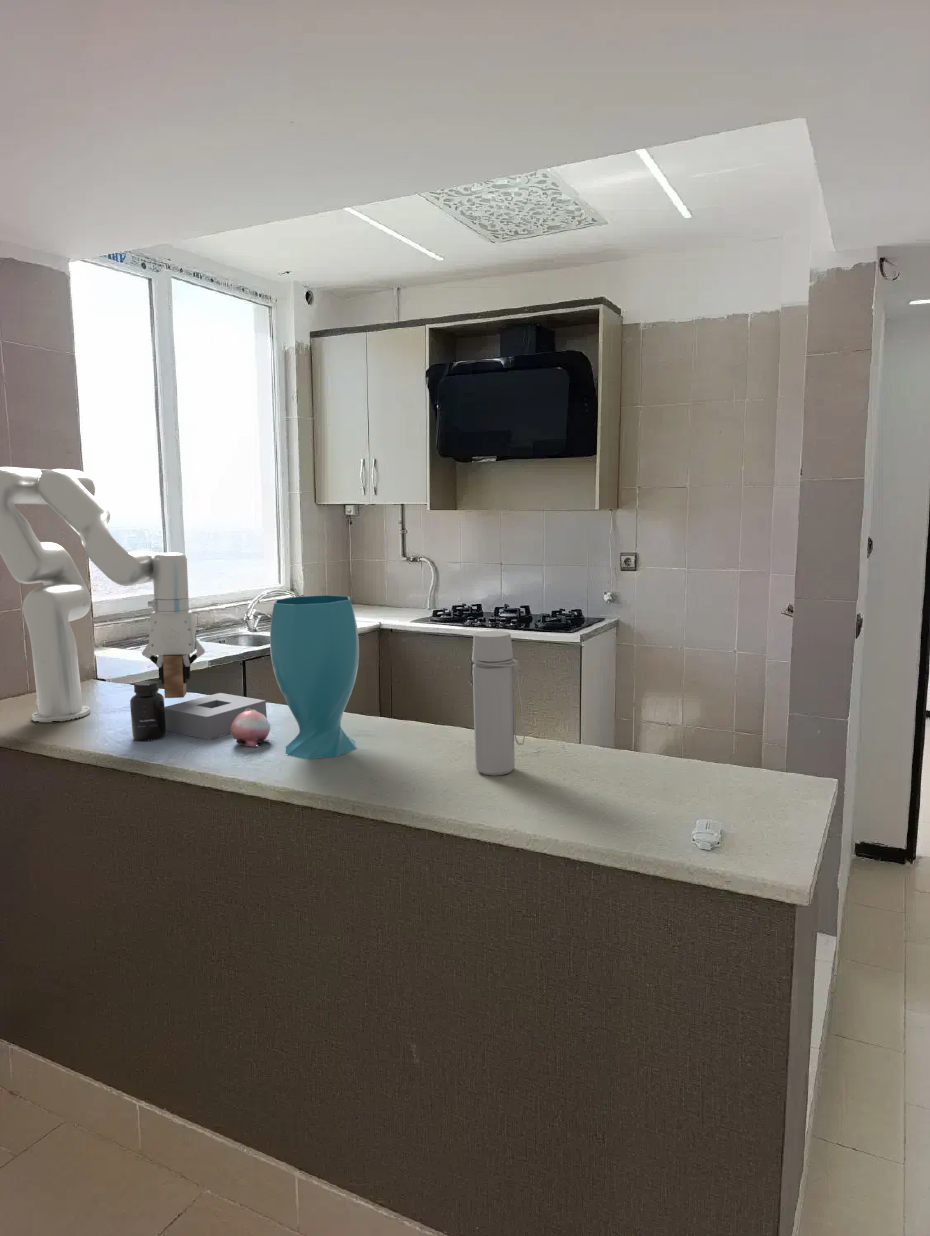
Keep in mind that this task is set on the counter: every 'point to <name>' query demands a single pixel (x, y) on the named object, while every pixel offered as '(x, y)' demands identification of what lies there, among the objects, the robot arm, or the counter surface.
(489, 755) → the water bottle
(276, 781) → the counter surface
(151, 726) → the supplement bottle
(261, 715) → the pink round piece
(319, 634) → the vase
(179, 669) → the peg
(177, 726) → the socket block
